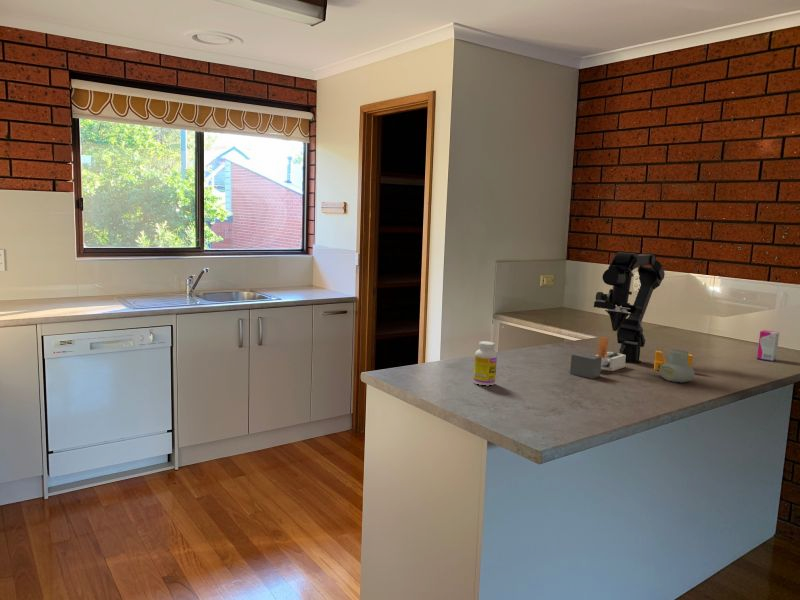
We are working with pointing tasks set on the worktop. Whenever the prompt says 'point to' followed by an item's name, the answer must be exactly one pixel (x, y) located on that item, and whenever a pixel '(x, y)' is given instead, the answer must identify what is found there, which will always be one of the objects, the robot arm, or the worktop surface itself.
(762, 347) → the supplement box
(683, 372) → the air freshener
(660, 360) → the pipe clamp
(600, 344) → the tube
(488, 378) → the supplement bottle
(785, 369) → the worktop surface
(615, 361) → the open tray
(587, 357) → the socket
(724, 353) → the worktop surface
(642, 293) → the robot arm
